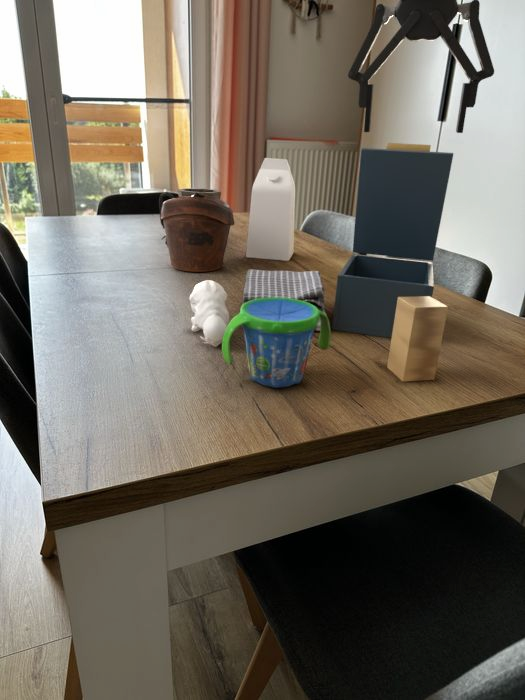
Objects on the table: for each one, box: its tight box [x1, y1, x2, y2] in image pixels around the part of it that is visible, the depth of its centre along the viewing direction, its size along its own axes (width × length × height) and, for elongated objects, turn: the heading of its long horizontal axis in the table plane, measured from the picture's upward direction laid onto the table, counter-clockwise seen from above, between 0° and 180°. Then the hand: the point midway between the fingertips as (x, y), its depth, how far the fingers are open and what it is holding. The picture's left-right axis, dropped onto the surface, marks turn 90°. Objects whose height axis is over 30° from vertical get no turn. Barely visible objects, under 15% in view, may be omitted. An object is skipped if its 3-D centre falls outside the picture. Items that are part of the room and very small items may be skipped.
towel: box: [241, 268, 328, 332], centre depth 96 cm, size 15×18×8 cm
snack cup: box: [221, 298, 332, 389], centre depth 70 cm, size 16×10×10 cm
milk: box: [245, 157, 296, 262], centre depth 143 cm, size 12×12×26 cm
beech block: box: [386, 296, 449, 383], centre depth 73 cm, size 5×5×11 cm
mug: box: [158, 187, 222, 230], centre depth 162 cm, size 20×14×15 cm
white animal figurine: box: [189, 279, 230, 348], centre depth 83 cm, size 6×8×12 cm
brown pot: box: [159, 193, 235, 273], centre depth 127 cm, size 18×20×18 cm
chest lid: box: [352, 142, 454, 262], centre depth 100 cm, size 21×16×10 cm
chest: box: [331, 253, 435, 339], centre depth 96 cm, size 20×16×10 cm
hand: (412, 132), depth 78 cm, fingers open, 13 cm apart
